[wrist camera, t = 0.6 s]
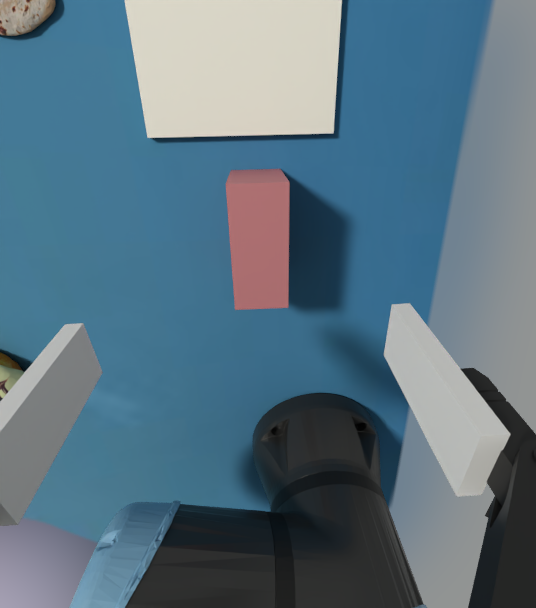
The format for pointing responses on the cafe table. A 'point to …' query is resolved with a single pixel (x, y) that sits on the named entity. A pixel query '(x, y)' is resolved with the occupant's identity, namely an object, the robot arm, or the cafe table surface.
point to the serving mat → (236, 66)
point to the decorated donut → (8, 374)
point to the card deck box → (259, 237)
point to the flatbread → (23, 15)
